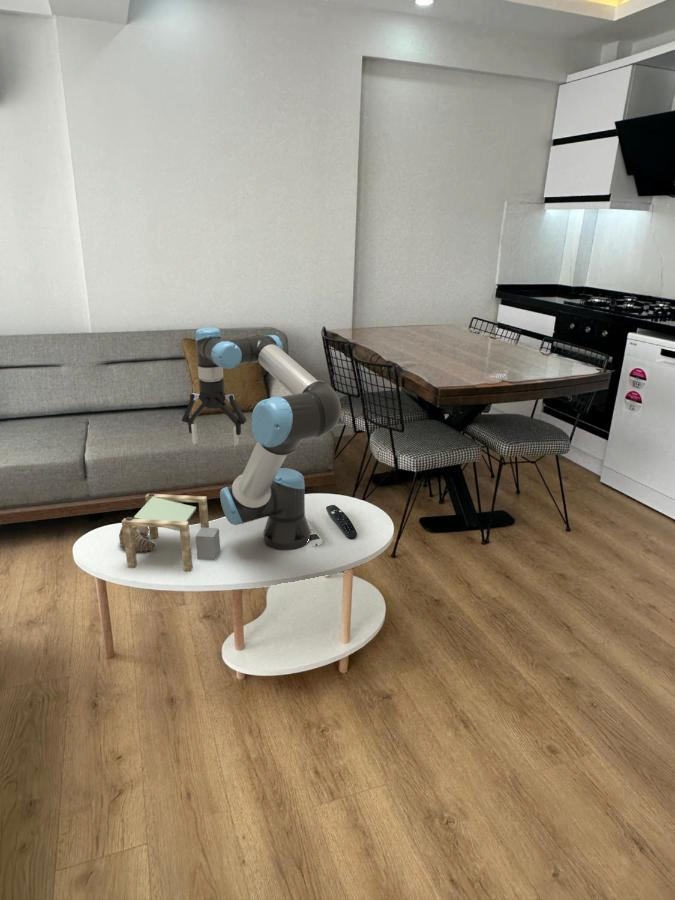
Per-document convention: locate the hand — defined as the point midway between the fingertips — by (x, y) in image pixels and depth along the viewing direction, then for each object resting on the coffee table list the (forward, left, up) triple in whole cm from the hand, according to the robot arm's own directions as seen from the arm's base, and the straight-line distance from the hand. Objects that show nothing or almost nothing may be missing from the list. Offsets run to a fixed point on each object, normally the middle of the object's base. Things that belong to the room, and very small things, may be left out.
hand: (215, 443), depth 194 cm
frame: (+10, +21, -29) cm, 37 cm away
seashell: (+22, +16, -29) cm, 40 cm away
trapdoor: (+11, +21, -18) cm, 30 cm away
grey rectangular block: (-2, +21, -25) cm, 33 cm away
